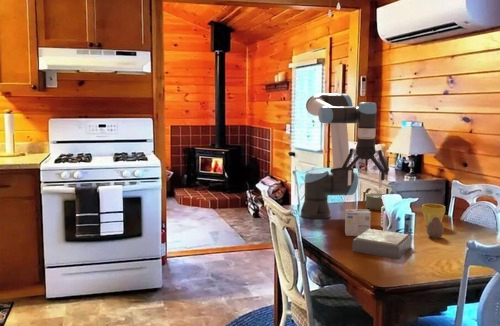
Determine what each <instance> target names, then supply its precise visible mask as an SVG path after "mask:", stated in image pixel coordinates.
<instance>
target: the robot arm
mask: <svg viewBox="0 0 500 326" xmlns="http://www.w3.org/2000/svg"><path fill="white" fill-rule="evenodd" d="M305 109H306V111H307V112H308V113H309V115H312V116H315V117H316V116H318V120H319V122H320V123H321V124H326V125H327V124H330V137H331V154H332V167H331V168H330V172H329V170H328V169H314V170H310V171H307V172H306V173H305V175H304V200H303V204H302V206H301V209H300V217H302V218H306V219H312V220H313V219H314V220H316V219H317V220H321V219H322V220H325V219H329V218H330V217H331V209H330V205H329V202H328V198H329V197H328V196H345V197H346V196H351V195H352V196H353V195H354V194H355V193H356V191H357V189H358V186H359V176H358V173H357V172H355V171H354V168H353V166H355V164H356V163H358V161H359V160H368V161H370V160H371V162H373V164H374V165H375V167H376V168H377V169H378V170H379V171H380V172H379V174H378V189H382V188H383V181H385V178H386V177H385V174H386V173H387V172H390V168H389V166H388V163H387V161H386V160H385V156H384V154H383V150H382V149H379V150H378V149H376V139H375V138H376V131H377V130H376V129H377V127H376V126H377V112H378V111H377V110H378V109H377V103H376V102H364V101H363V102H359V104H358V106H353V102H352V98H351V97H350V95H349V94H346V93H342V92H341V93H340V92H339V93H316V94H314V95H312V96H310V97H309V98H307V101H306V104H305ZM348 124H357V142H356V143H357V145H356V149H355V148H353V147H352V148H349V147H350V146H349V133H348V132H349V131H348ZM355 153H356V154H357V156H356V157H355V158H354V159H353V160H352V162H351V159H352V157H353V155H354V154H355ZM375 154H376V155H378V157H379V160H380V162H381V163H380V162H379V161H378V160H377V157H376V156H375ZM381 164H382V165H381Z"/></svg>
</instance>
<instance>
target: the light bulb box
mask: <svg viewBox="0 0 500 326" xmlns="http://www.w3.org/2000/svg"><path fill="white" fill-rule="evenodd" d="M344 211H345V212H344V213H345V215H344V217H345V218H344V233H345V237H348V236H351V237H353V236H354V237H358V236H359V235H361V234H362V233H364V232H365V231H367V230H368V229H371V217H372V215H371V213H372V212H371V211H370V209H360V208H359V209H356V208H355V209H354V208H351V209H350V208H346V209H345V210H344Z"/></svg>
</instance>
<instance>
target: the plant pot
mask: <svg viewBox="0 0 500 326" xmlns="http://www.w3.org/2000/svg"><path fill="white" fill-rule="evenodd" d="M421 206H422V207H421V213H423V218H424V223H425V226H426V227H427V225H428V223H429V222H430V221H431V220H432V218H433V217H438V218H439V220H440V221H441V223H442V221H443V218H444V215H445V214H446V206H445V205H443V204H439V203H438V204H437V203H424V204H421Z"/></svg>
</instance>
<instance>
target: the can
mask: <svg viewBox="0 0 500 326" xmlns="http://www.w3.org/2000/svg"><path fill="white" fill-rule="evenodd" d="M382 195H385V194H383V193H367V194H365V209H368V208H369V209H368V210H373V209H374V210H376V211H382V210H381V207H382V199H381V196H382Z"/></svg>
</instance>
